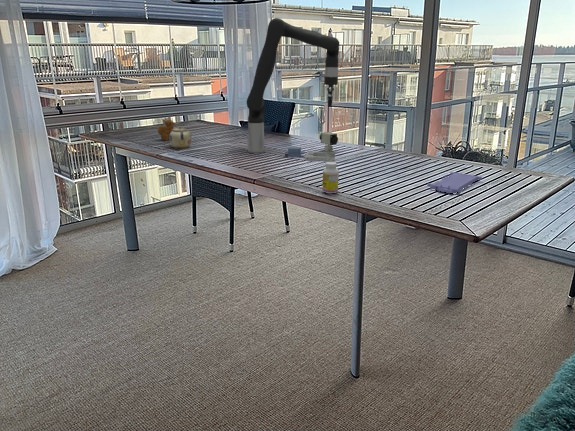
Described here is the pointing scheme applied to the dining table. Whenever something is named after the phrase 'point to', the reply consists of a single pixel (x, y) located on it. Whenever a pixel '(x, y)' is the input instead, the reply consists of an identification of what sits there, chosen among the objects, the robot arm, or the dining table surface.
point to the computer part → (454, 182)
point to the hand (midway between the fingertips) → (329, 105)
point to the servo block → (294, 152)
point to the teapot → (180, 138)
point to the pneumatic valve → (328, 140)
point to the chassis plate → (320, 156)
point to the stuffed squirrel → (166, 130)
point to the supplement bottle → (330, 178)
